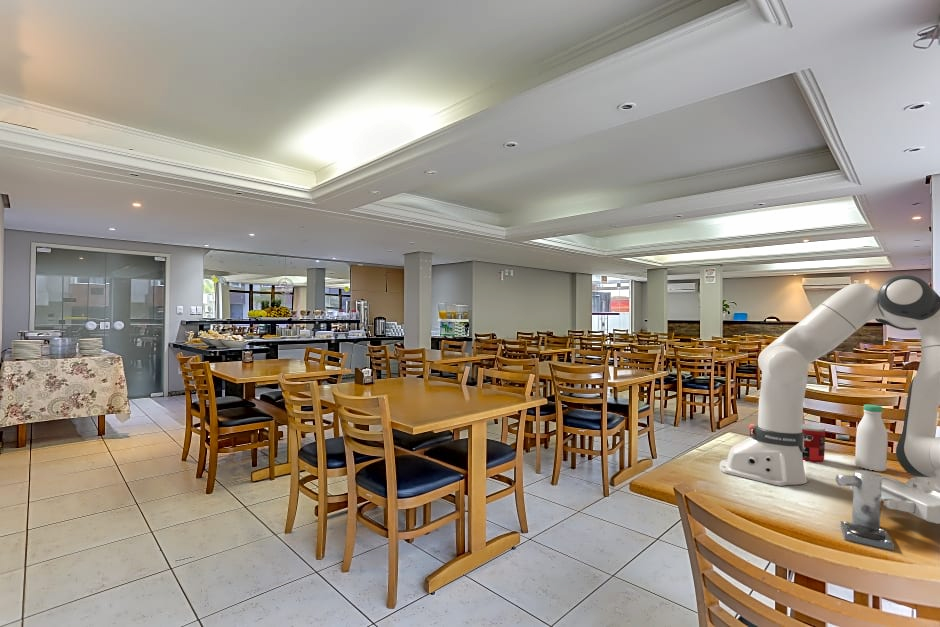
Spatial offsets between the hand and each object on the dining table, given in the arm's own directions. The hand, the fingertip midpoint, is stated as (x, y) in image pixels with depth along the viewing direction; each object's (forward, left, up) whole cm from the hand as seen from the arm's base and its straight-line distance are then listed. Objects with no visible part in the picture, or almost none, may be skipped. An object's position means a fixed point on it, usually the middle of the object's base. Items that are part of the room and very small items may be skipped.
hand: (868, 495), depth 111 cm
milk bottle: (+8, +55, -7) cm, 56 cm away
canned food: (-8, +54, -7) cm, 55 cm away
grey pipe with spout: (-2, -1, -7) cm, 7 cm away
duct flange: (-1, -8, -7) cm, 11 cm away
